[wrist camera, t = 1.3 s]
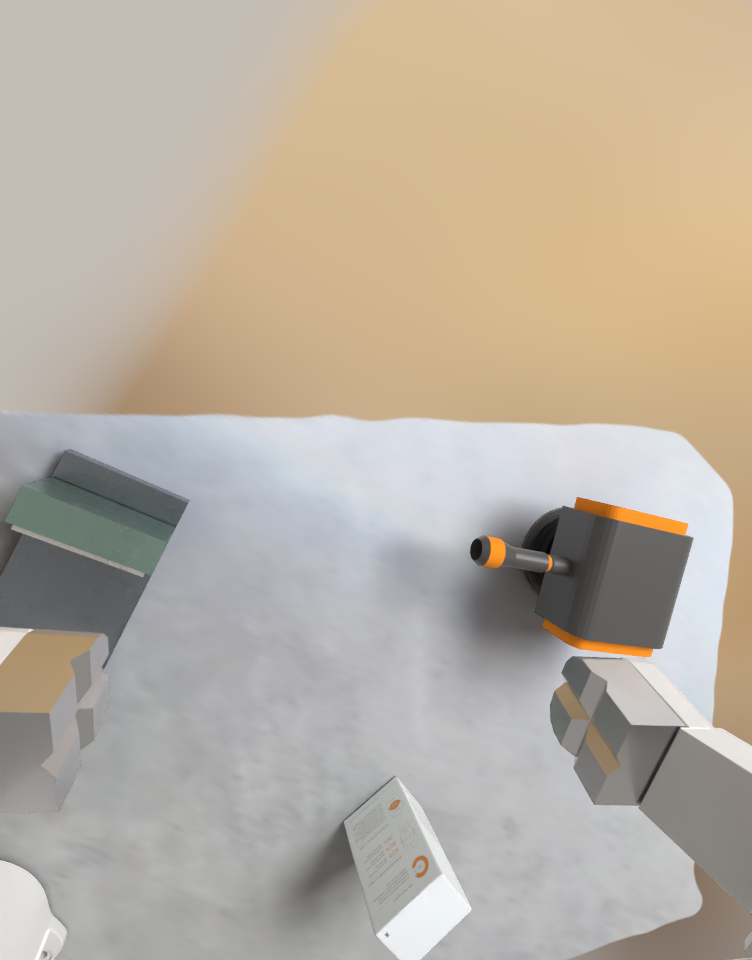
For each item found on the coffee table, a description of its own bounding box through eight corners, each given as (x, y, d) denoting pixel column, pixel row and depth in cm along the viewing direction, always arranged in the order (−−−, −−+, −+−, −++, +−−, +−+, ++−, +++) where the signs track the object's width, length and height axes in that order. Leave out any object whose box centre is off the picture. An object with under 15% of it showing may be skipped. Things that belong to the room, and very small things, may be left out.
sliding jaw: (158, 560, 44) (148, 581, 39) (32, 512, 40) (0, 527, 35) (175, 527, 44) (167, 542, 39) (50, 476, 41) (22, 485, 35)
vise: (90, 694, 45) (64, 746, 38) (-38, 659, 42) (-93, 708, 35) (189, 500, 46) (181, 515, 39) (70, 449, 42) (38, 455, 35)
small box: (370, 852, 57) (408, 973, 44) (341, 820, 55) (373, 937, 43) (422, 806, 58) (474, 911, 46) (396, 773, 56) (442, 873, 44)
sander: (454, 467, 54) (518, 482, 42) (622, 508, 61) (717, 530, 49) (423, 591, 54) (477, 640, 42) (593, 616, 62) (679, 663, 50)
